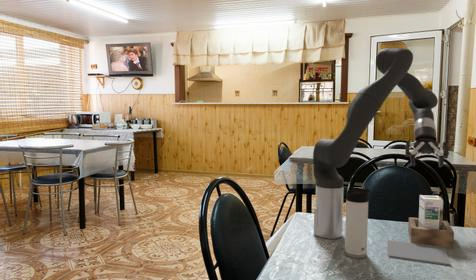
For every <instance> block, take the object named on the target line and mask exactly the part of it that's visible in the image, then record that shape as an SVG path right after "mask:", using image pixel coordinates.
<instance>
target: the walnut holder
mask: <svg viewBox="0 0 476 280" xmlns="http://www.w3.org/2000/svg"><path fill="white" fill-rule="evenodd" d="M407 226H408V227H407V230H408V237H409V241H410V243H416V244H423V245H431V246H439V247H443V248H450V249H454V241H455V239H454V238H455V231H454V230H453V229H452V227H451V225H450V223H449V222H448V220H442V230H439V229H430V228H421V227H419V217H412V216H411V217H409V216H408V225H407Z"/></svg>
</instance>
